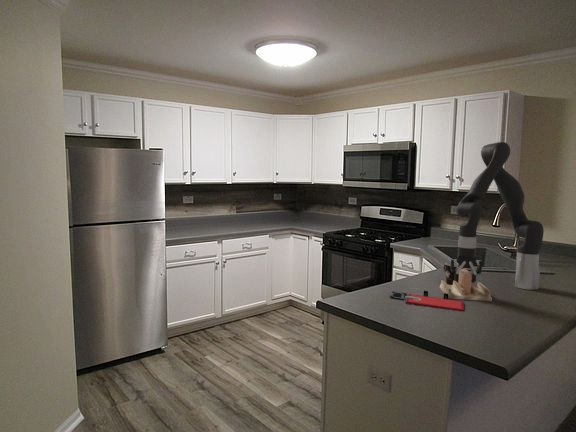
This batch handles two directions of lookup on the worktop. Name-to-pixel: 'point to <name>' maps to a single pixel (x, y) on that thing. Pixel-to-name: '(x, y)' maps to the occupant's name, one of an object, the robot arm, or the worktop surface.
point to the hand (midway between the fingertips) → (465, 281)
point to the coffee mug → (450, 273)
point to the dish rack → (458, 293)
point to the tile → (465, 280)
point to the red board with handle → (430, 301)
